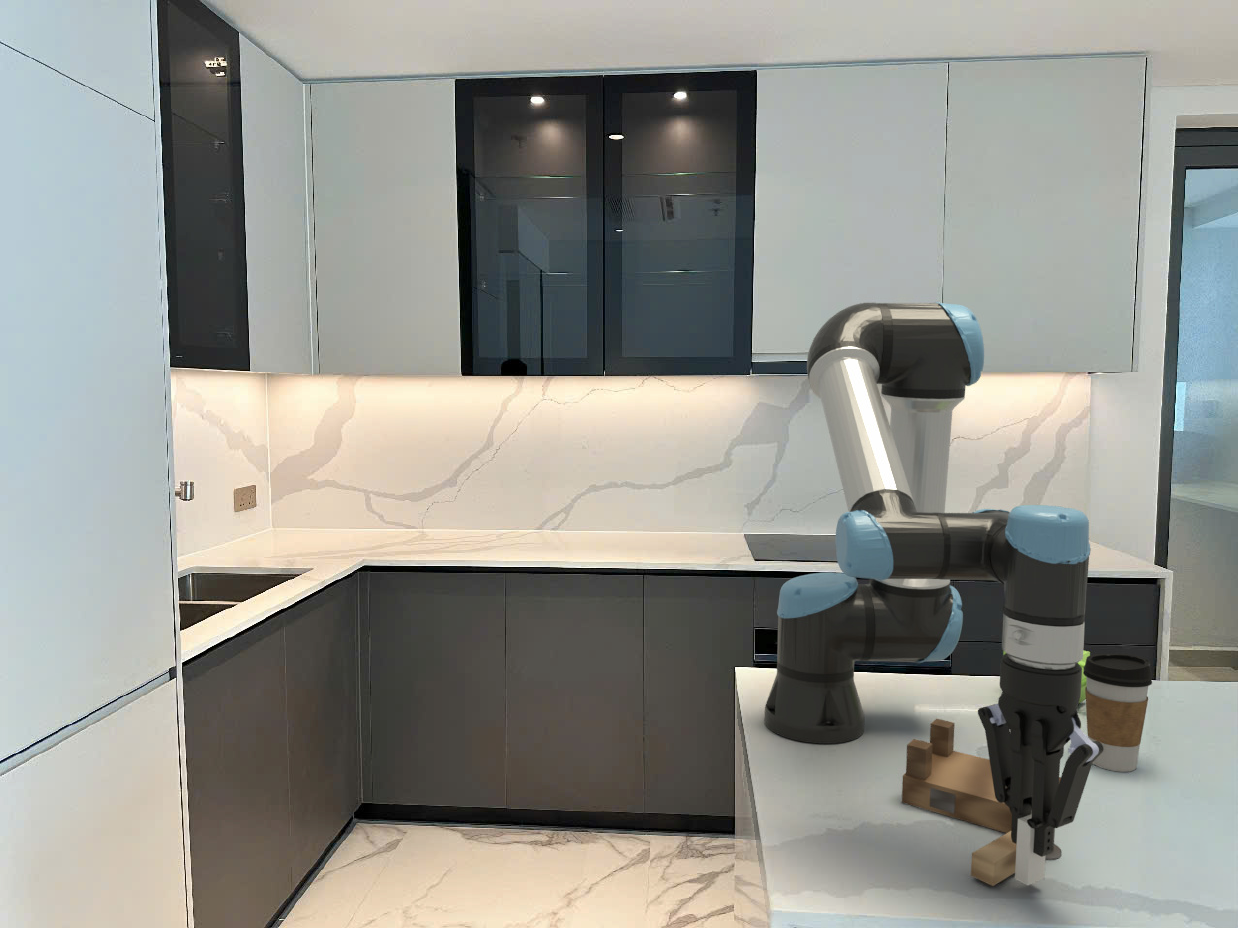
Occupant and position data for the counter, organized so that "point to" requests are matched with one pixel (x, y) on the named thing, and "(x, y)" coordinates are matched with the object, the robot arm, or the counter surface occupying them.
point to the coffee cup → (1116, 707)
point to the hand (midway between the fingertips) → (1029, 878)
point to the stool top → (954, 782)
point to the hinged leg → (995, 860)
